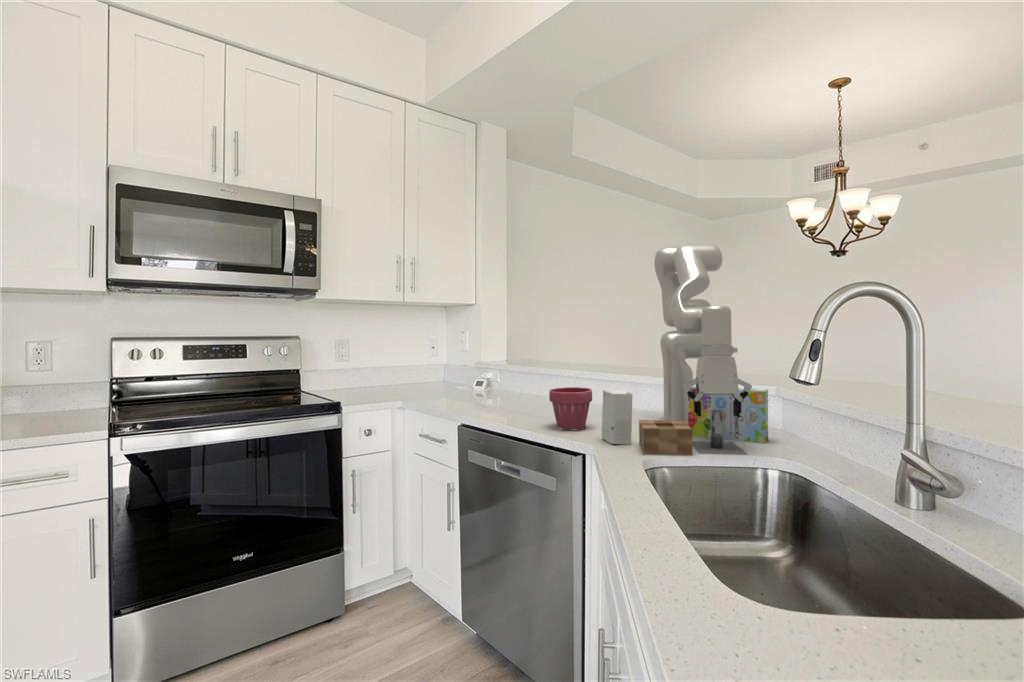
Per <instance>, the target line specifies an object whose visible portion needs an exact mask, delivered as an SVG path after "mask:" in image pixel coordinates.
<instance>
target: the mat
mask: <svg viewBox="0 0 1024 682" xmlns="http://www.w3.org/2000/svg"><path fill="white" fill-rule="evenodd" d="M692 448H693V449H695V451H696V452H697V453H698V455H731V456H732V455H735V456H736V455H737V456H739V455H740V456H741V455H742V456H745V455H746V456H749V453H747V452H746V451H745V450H744V449H742V448H741V447H740V446H739V445H737V444H736V442H733V441H723V448H722V449H714V448H711V440H710V441H708V440H706V441H704V440H703V441H701V440H696V441H695V440H692Z"/></svg>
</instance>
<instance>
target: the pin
mask: <svg viewBox="0 0 1024 682" xmlns="http://www.w3.org/2000/svg"><path fill="white" fill-rule="evenodd" d="M710 414H711V438H710V441H711V448H714V449H722V448H723V442H724V441H723V440H724V439H723V411H722V410H710Z"/></svg>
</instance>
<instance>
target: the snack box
mask: <svg viewBox="0 0 1024 682" xmlns="http://www.w3.org/2000/svg"><path fill="white" fill-rule="evenodd" d="M690 390H691V392H692V393H693V394H695V393H696V392H697V391H696V385H693V386H692V387H690ZM743 390H744V387H738V392H737V393H738V394H740V393H741V392H742V391H743ZM734 400H735V398H734V397H733V396H732V395H706V394H704V395H703V396H702V397H701V398H700V402H701V416H700V417H698V416H697V415H696V413H694V400H693V399H692V398H691V397H690V396H689V395H688V426H689V427H690V428H691V429H692V437H693V436H695V437H700V438H701V437H702V438H710V439H711V414H710V410H722V411H723V440H731V441H738V442H739V441H740V442H747V443H758V444H767V442H768V441H769V390H768V389H765V388H751V390H750V392H749V393H748V395H747V396H746V397H745V398H744V399H743V401H742V402H741V413H740V416H739V417H736V416H734V415H733V401H734Z"/></svg>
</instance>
